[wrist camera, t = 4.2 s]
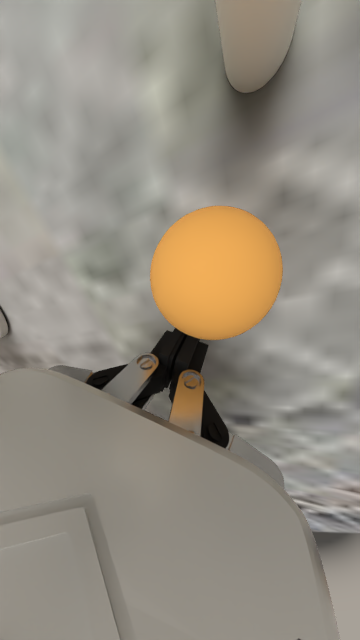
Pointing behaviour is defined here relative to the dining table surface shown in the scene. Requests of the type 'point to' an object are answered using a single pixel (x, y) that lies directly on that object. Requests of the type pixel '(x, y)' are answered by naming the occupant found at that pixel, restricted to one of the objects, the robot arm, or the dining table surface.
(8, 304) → the dining table surface
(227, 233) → the ball
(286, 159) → the dining table surface
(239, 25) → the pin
